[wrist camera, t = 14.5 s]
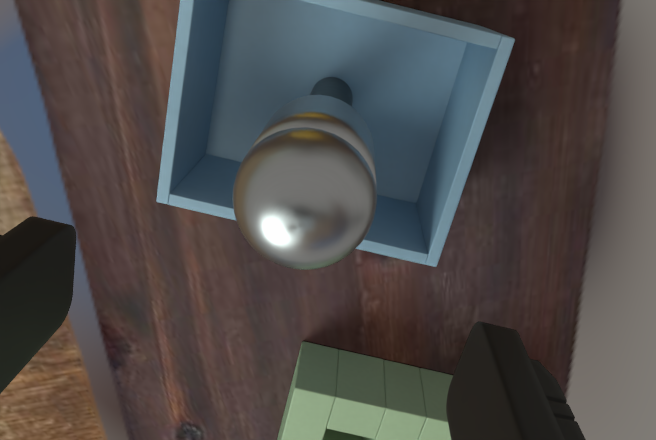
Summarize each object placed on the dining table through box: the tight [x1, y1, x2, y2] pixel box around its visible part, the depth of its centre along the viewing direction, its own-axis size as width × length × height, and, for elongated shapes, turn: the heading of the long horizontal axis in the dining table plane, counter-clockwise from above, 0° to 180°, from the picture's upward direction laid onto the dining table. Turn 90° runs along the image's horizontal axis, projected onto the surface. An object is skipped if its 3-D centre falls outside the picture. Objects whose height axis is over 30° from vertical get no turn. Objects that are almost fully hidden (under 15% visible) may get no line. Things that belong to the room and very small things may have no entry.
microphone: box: [232, 77, 377, 270], centre depth 24 cm, size 4×4×18 cm
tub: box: [156, 0, 515, 267], centre depth 29 cm, size 14×11×8 cm
